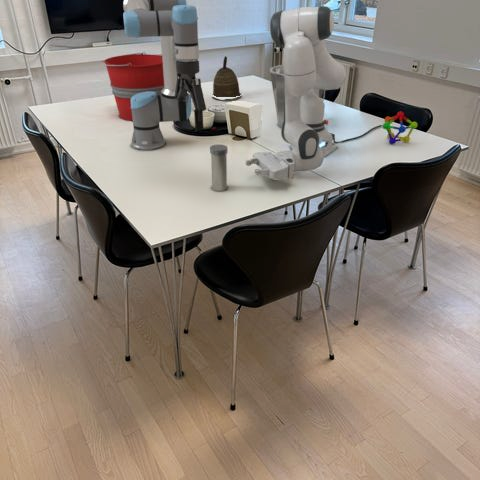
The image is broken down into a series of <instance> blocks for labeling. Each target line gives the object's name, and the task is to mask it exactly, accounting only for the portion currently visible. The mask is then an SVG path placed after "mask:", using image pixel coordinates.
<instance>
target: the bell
mask: <svg viewBox="0 0 480 480" xmlns="http://www.w3.org/2000/svg"><path fill="white" fill-rule="evenodd" d="M227 63H228V57H227V56H224V58H223V63H222V67H221V68H219V69H218V70H217V71H216V73H215V75H214V78H213V81H212V83H213V84H212V95H214V96H216V97H236V96H240V95H241V96H242V93H241V92H240V83H239V80H238V79H239V78H238V77H237V75H236V73H235V72H234V70H232V69H231V68H230V67H227Z"/></svg>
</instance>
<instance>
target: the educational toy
mask: <svg viewBox="0 0 480 480" xmlns="http://www.w3.org/2000/svg"><path fill="white" fill-rule="evenodd" d="M397 119H399V124H400V125H399V127H398V126H393V125H391V124H392V123H394V122H395V121H396V120H397ZM403 120H404V121H405V122H407V123H408V124H409V125H407V126H404V123H403ZM417 127H418V122H417V121H411V120H410V119H409V118H408V117H406V116H405V113H404V112H403V111H401V110H400V111H398V112H397V114H396V115H394V116H391V117H390V116H386V117H385V118H384V122H383V123H382V129H383V130H386V132H387V138H388V142H389V145H395V144H396V143H397V142H402V141H403V142H404V143H409V142H410V140H411V138H410V136H411V134H412V132H413V131H414V130H415V129H417ZM392 129H393V130H397V131H398V132H396V134H395V133H394V132H392ZM408 129H409V131H408V133H407V134H406V135H404V136H401V134H403V133H405V132H406V130H408ZM399 135H400V136H399Z"/></svg>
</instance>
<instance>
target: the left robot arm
mask: <svg viewBox="0 0 480 480" xmlns="http://www.w3.org/2000/svg"><path fill="white" fill-rule="evenodd" d="M122 8H123V11H124V12H123V14H122V16H123V17H122V18H123V26H124V34H125V35H126V37H128V38H146V37H151V38H152V37H160V47H161V56H162V62H163V75H164V88H163V89H162V90H161V95H157V94H156V92H153V91H151V92H150V91H147V92H142V93H138V94H136V95H134V96H132V98H131V109H132V117H133V121H132V125H133V132H132V135H131V147H132V148H134V149H135V150H141V151H151V150H153V151H154V150H157V149H161V148H163V147H164V146H165V144H166V140H165V137H164V135H163V132H162V130H161V127H160V123H165V122H166V123H167V122H182V121H187V120H189V119H190V118H191V114H192V104H193V108H194V109H193V113H194V117H193V118H194V131H195V132H198V131H199V132H200V131H204V111H206V110H207V105H206V102H205V97H204V93H203V87H202V81H201V78H196V75H197V74H198V73H200V61H199V59H200V51H199V50H200V49H199V46H200V45H199V30H198V28H199V27H198V20H199V17H198V11H197V6H195V5H192V4H188V3H187V0H123V1H122Z"/></svg>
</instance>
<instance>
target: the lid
mask: <svg viewBox="0 0 480 480" xmlns="http://www.w3.org/2000/svg"><path fill="white" fill-rule="evenodd" d="M228 152H229V151H228V146H227V145H226V144H213V145H211V146H210V147H209V154H210V155H211V154H212V155H225V154H226V155H228Z"/></svg>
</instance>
